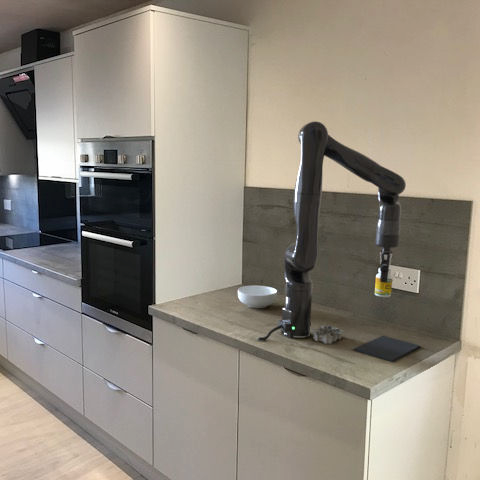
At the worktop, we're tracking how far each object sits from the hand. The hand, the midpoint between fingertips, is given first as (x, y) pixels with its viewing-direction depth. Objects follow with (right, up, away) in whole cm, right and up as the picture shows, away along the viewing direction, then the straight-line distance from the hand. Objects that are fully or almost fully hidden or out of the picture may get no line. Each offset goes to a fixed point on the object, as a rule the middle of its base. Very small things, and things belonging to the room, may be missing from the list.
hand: (383, 280), depth 183 cm
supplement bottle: (0, -6, +1) cm, 6 cm away
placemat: (-2, -23, -7) cm, 24 cm away
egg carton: (-19, -21, +3) cm, 29 cm away
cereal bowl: (-36, -14, +43) cm, 58 cm away
